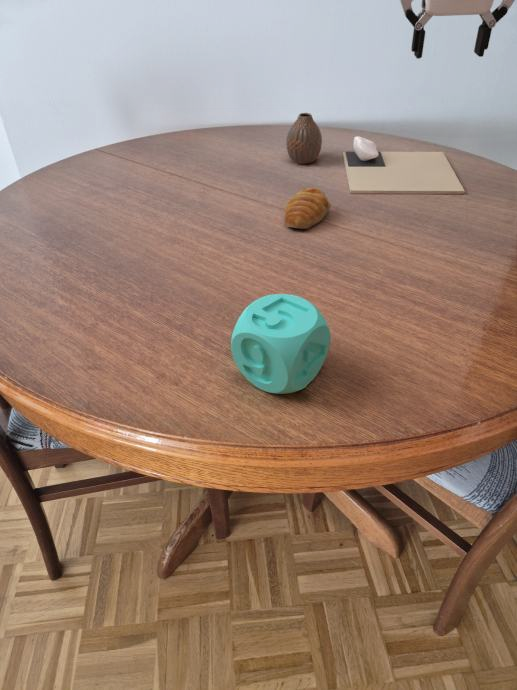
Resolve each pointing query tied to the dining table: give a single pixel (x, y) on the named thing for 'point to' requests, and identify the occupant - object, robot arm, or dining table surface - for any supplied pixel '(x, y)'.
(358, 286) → the dining table surface
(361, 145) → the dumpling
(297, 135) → the vase
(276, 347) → the decorative dice
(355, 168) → the mat
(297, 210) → the pastry
